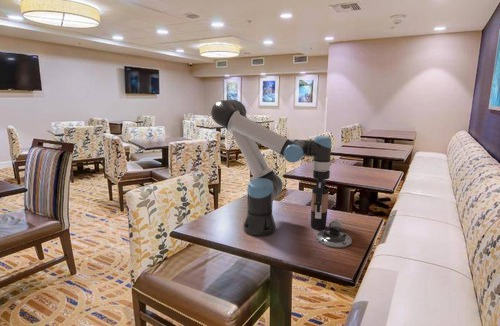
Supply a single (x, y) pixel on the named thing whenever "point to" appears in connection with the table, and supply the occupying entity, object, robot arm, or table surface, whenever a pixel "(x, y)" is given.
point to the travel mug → (321, 223)
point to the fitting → (334, 236)
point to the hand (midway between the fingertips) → (319, 213)
